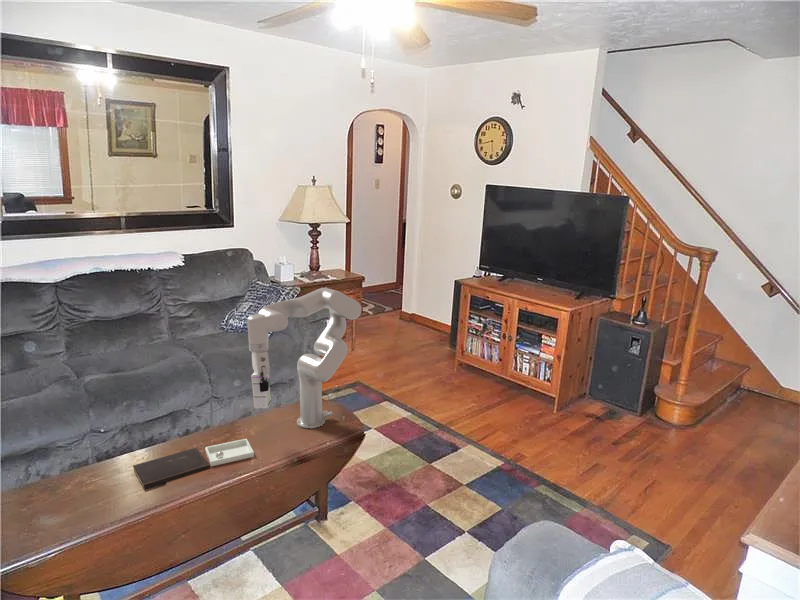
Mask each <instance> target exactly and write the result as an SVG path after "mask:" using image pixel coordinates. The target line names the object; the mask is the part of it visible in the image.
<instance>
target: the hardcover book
mask: <svg viewBox="0 0 800 600" xmlns="http://www.w3.org/2000/svg"><path fill="white" fill-rule="evenodd" d="M132 467H133V470H134V472H135V474H136V476H137V478H138V479H139V481H140V483H141V485H142V487H143V490H144V491H145V490H149V489H151V488H155V486H156V487H158V486H162V485H165V484H167V482H170V481H173V480H176V479H179V478H183V477H185V476H188V475H192V474H194V473H199V472H201V471H205V470H208V469H210V468H211V465H210V462H209V461H207V460H206V458H205V457H204V455H203V454H202V453H201V452H200V450H199V449H198V448H197V447H192V448H190V449H186V450H183V451H178V452H175V453H173V454H169V455H165V456H162V457H158V458H155V459H151V460H148V461H144V462H141V463H137V464H134V465H132Z"/></svg>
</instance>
